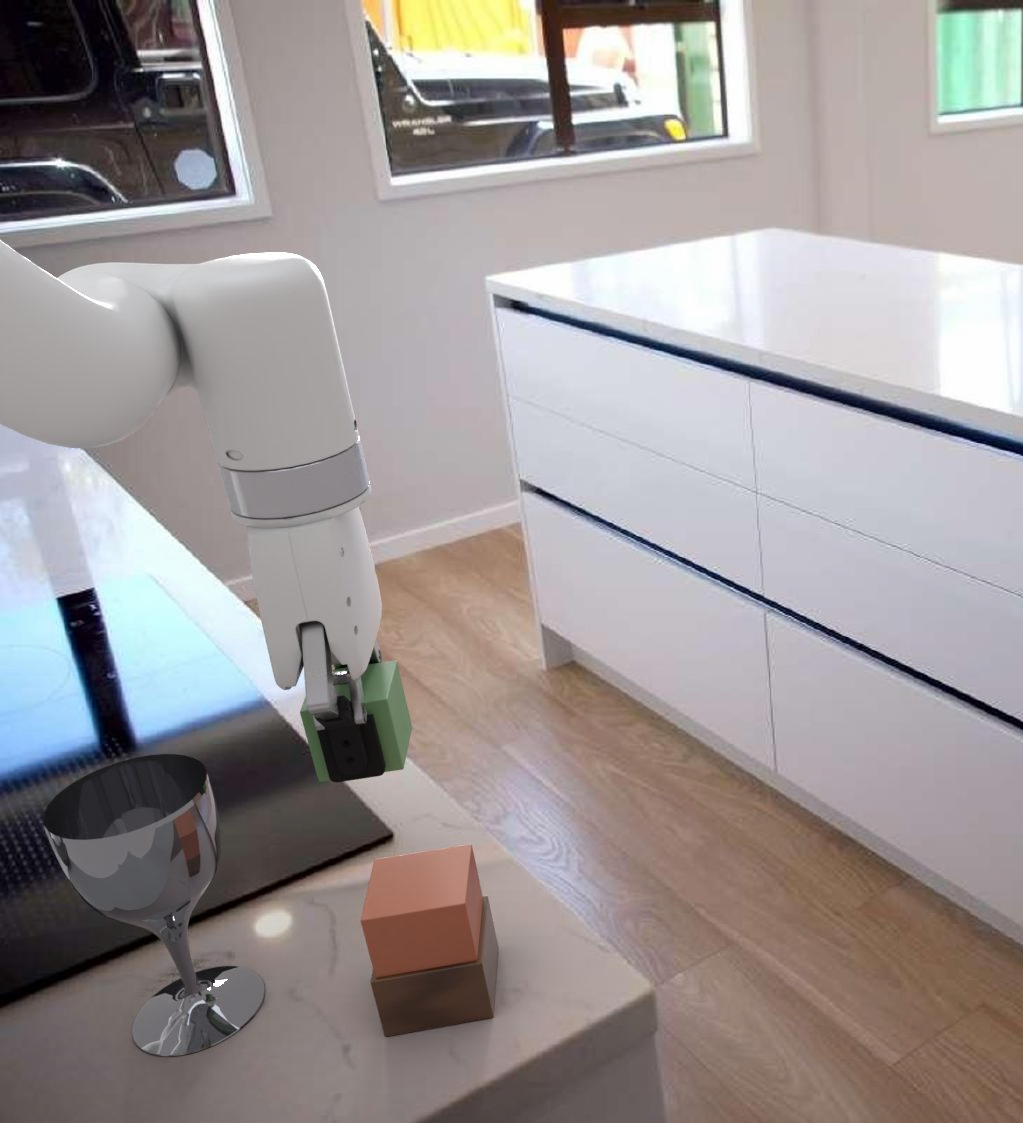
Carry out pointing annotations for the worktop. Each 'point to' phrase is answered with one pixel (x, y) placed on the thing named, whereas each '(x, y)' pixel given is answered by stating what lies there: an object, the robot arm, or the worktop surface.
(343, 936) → the worktop surface
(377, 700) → the green block
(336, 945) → the worktop surface
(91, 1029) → the worktop surface
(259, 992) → the wine glass
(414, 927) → the terracotta block
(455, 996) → the walnut block
